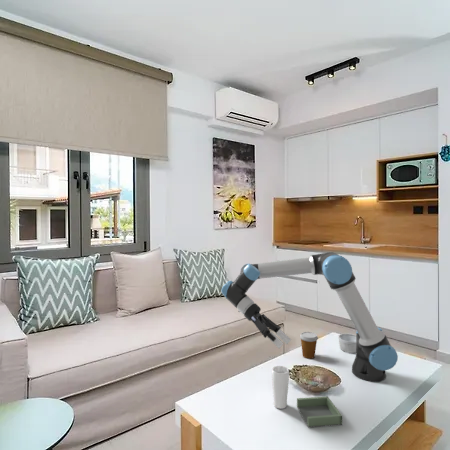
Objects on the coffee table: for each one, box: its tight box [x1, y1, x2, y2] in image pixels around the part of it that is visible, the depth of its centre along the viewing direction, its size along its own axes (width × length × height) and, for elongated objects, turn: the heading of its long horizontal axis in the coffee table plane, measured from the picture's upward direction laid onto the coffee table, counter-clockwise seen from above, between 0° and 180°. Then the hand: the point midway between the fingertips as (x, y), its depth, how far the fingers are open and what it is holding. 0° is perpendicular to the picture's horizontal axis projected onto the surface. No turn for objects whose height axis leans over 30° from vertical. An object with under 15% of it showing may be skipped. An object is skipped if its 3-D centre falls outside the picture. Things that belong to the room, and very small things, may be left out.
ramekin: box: [338, 333, 356, 354], centre depth 190 cm, size 13×13×7 cm
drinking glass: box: [271, 365, 290, 410], centre depth 135 cm, size 7×7×15 cm
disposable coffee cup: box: [299, 331, 319, 360], centre depth 181 cm, size 10×10×12 cm
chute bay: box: [296, 396, 343, 429], centre depth 129 cm, size 13×13×4 cm
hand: (285, 344), depth 140 cm, fingers open, 13 cm apart
